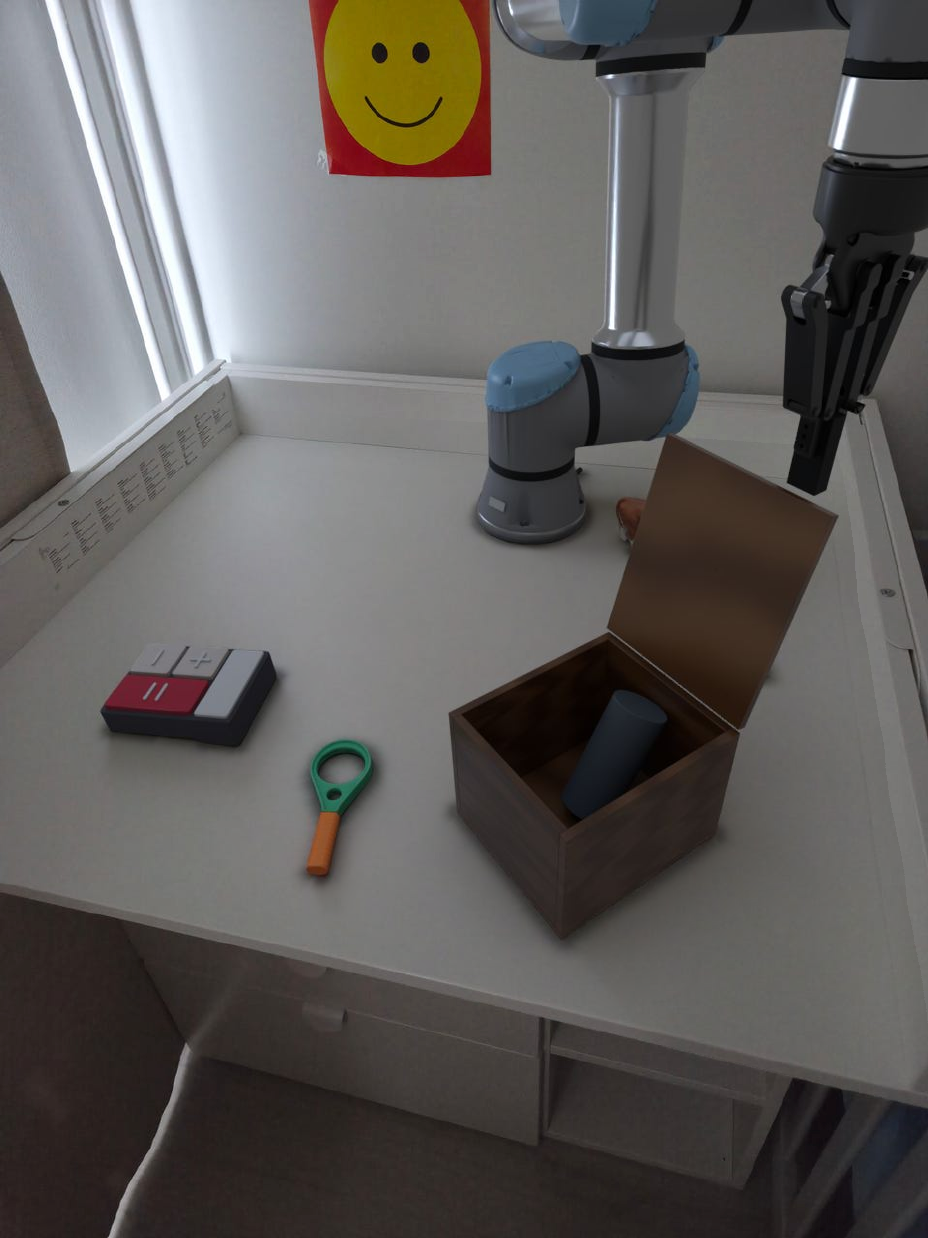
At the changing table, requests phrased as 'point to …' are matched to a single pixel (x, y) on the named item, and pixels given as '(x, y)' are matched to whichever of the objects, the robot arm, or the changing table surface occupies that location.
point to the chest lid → (716, 575)
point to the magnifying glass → (335, 808)
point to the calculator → (191, 693)
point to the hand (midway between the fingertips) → (806, 486)
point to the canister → (614, 753)
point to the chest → (545, 759)
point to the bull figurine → (629, 516)
